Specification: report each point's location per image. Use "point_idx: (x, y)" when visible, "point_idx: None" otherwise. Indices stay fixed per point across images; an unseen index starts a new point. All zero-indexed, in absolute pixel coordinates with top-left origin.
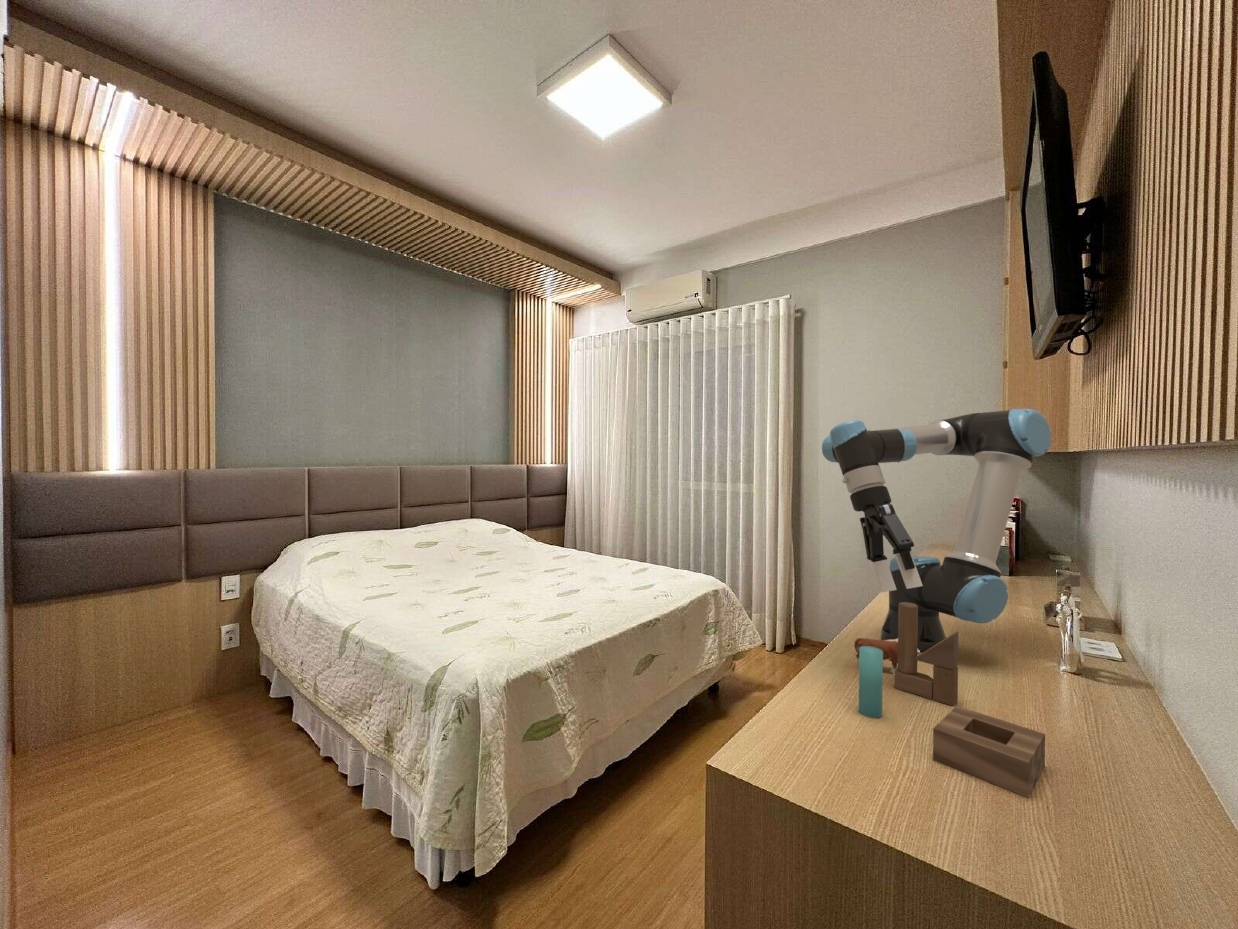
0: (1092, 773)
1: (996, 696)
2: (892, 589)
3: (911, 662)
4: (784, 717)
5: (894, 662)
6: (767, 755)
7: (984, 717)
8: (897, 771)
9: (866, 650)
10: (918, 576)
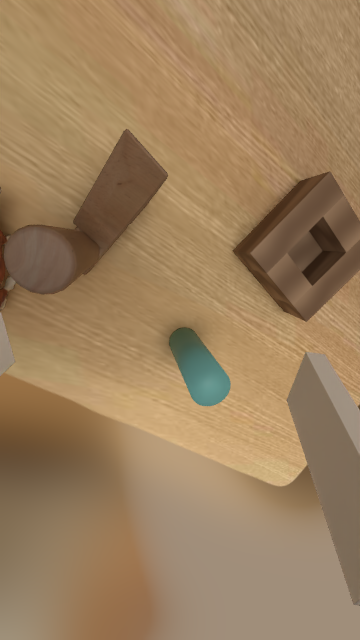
0: (317, 125)
1: (86, 67)
2: (3, 331)
3: (97, 251)
4: (203, 438)
5: (4, 241)
6: (272, 455)
7: (285, 232)
8: (299, 354)
9: (214, 396)
10: (341, 389)
